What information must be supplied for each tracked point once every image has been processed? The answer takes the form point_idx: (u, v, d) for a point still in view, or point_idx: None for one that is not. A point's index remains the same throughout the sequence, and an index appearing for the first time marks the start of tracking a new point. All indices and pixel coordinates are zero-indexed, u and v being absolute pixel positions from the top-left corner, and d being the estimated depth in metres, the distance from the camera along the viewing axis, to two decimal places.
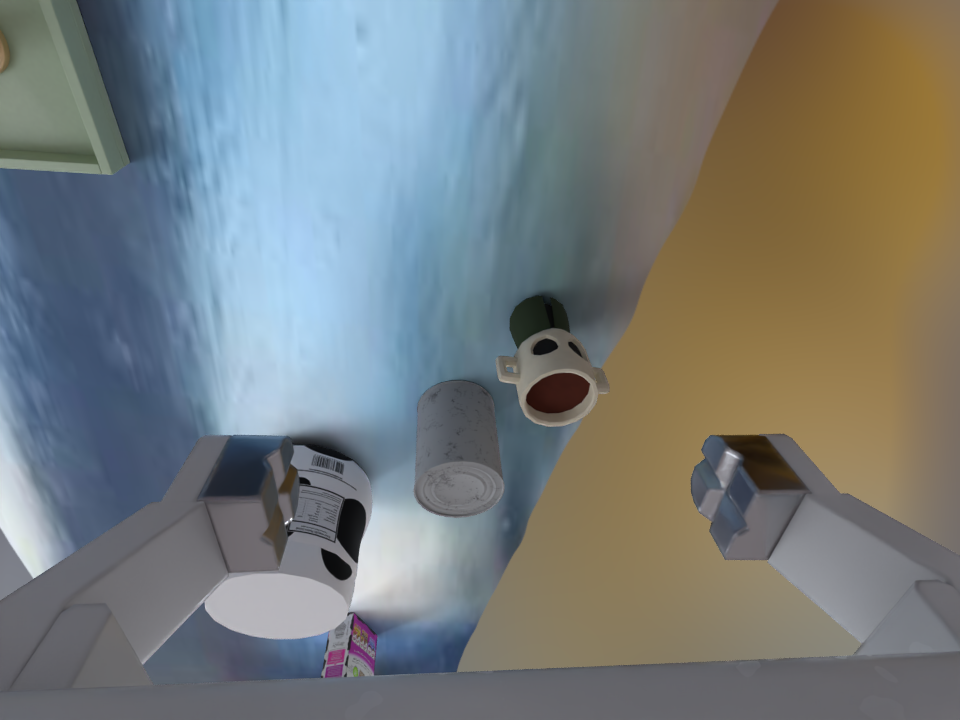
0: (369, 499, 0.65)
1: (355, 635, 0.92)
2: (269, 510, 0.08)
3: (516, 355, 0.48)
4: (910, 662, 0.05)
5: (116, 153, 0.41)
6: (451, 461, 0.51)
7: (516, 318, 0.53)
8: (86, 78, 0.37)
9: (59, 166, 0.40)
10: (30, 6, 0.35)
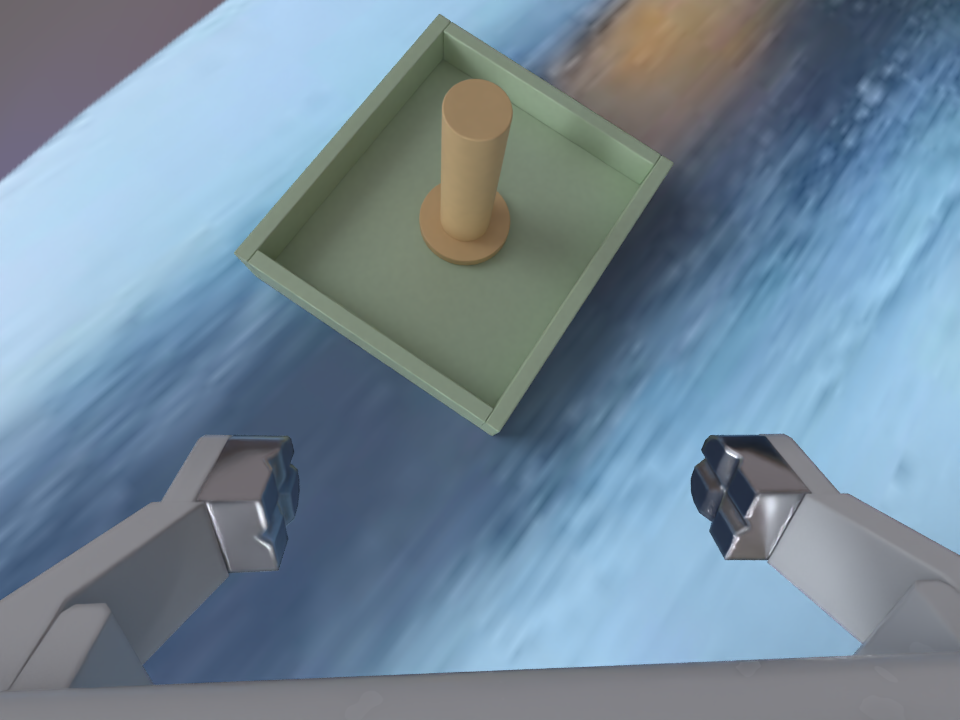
0: None
1: None
2: (269, 510, 0.08)
3: None
4: (910, 662, 0.05)
5: None
6: None
7: None
8: None
9: (436, 379, 0.23)
10: (561, 242, 0.28)
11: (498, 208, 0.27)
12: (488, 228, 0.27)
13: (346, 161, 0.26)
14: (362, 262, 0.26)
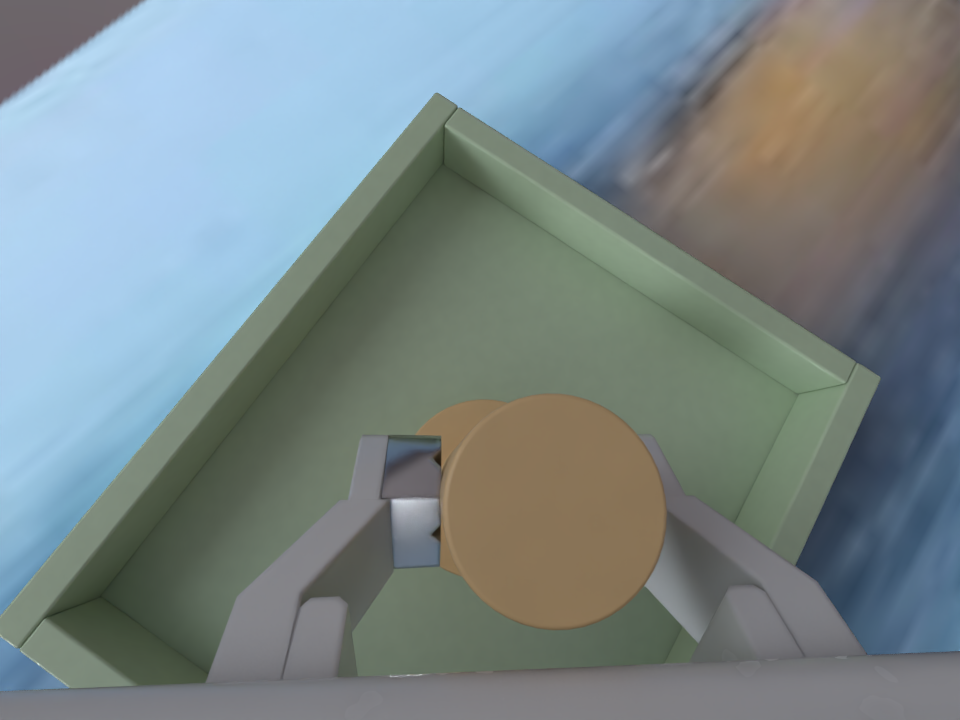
0: None
1: None
2: None
3: None
4: (910, 662, 0.05)
5: None
6: None
7: None
8: None
9: None
10: None
11: None
12: None
13: (256, 380, 0.14)
14: None
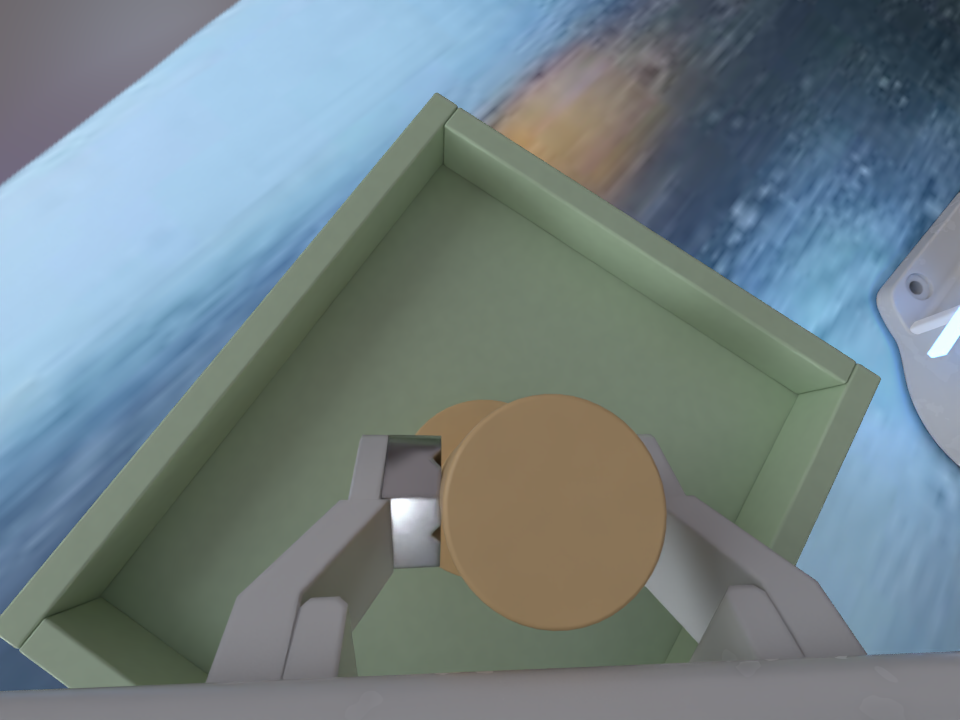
0: None
1: None
2: None
3: None
4: (910, 662, 0.05)
5: None
6: None
7: None
8: None
9: None
10: None
11: None
12: None
13: (255, 381, 0.14)
14: None
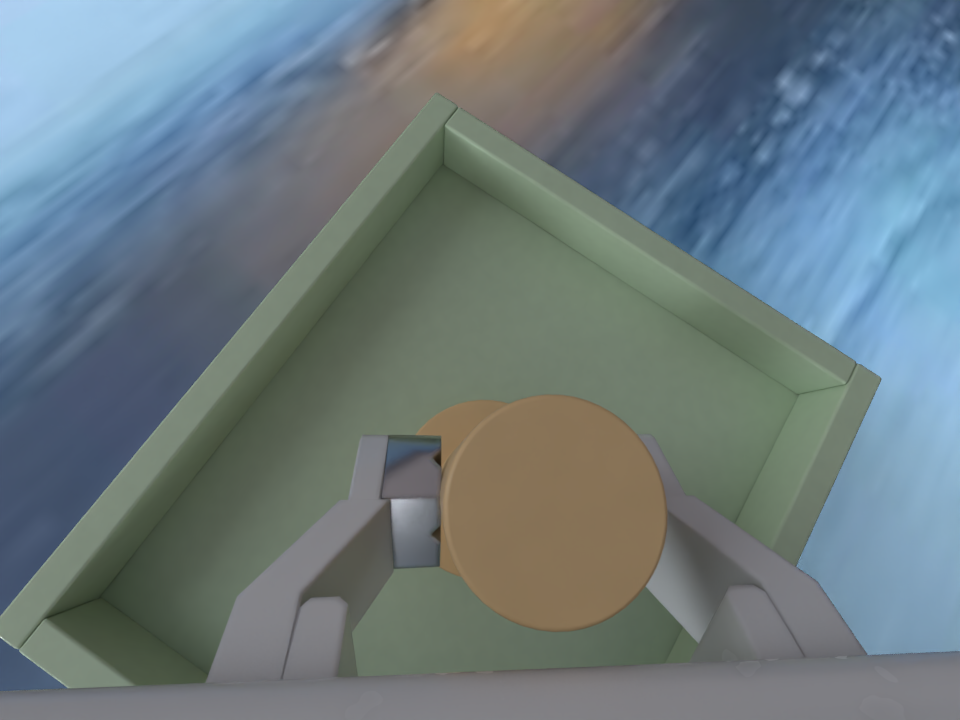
0: None
1: None
2: None
3: None
4: (910, 662, 0.05)
5: None
6: None
7: None
8: None
9: None
10: None
11: None
12: None
13: (256, 381, 0.14)
14: None
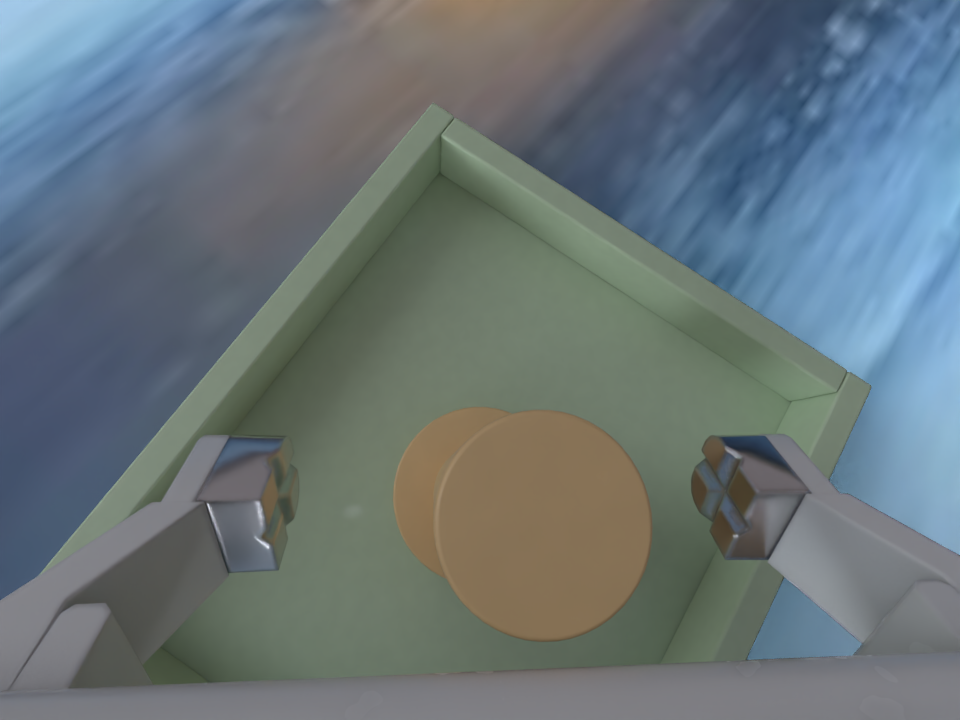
0: None
1: None
2: (269, 510, 0.08)
3: None
4: (910, 662, 0.05)
5: None
6: None
7: None
8: None
9: None
10: (657, 521, 0.15)
11: None
12: None
13: (253, 388, 0.14)
14: (282, 584, 0.14)
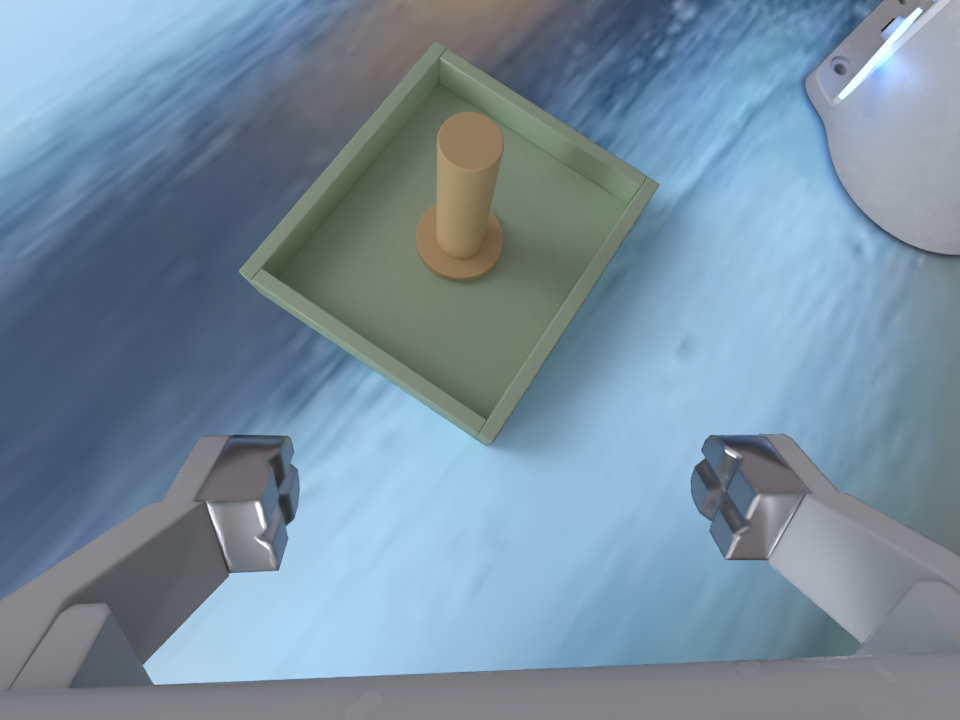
0: None
1: None
2: (269, 510, 0.08)
3: None
4: (910, 662, 0.05)
5: None
6: None
7: None
8: None
9: (432, 392, 0.25)
10: (552, 259, 0.29)
11: (492, 227, 0.28)
12: (482, 246, 0.28)
13: (346, 182, 0.28)
14: (361, 279, 0.28)
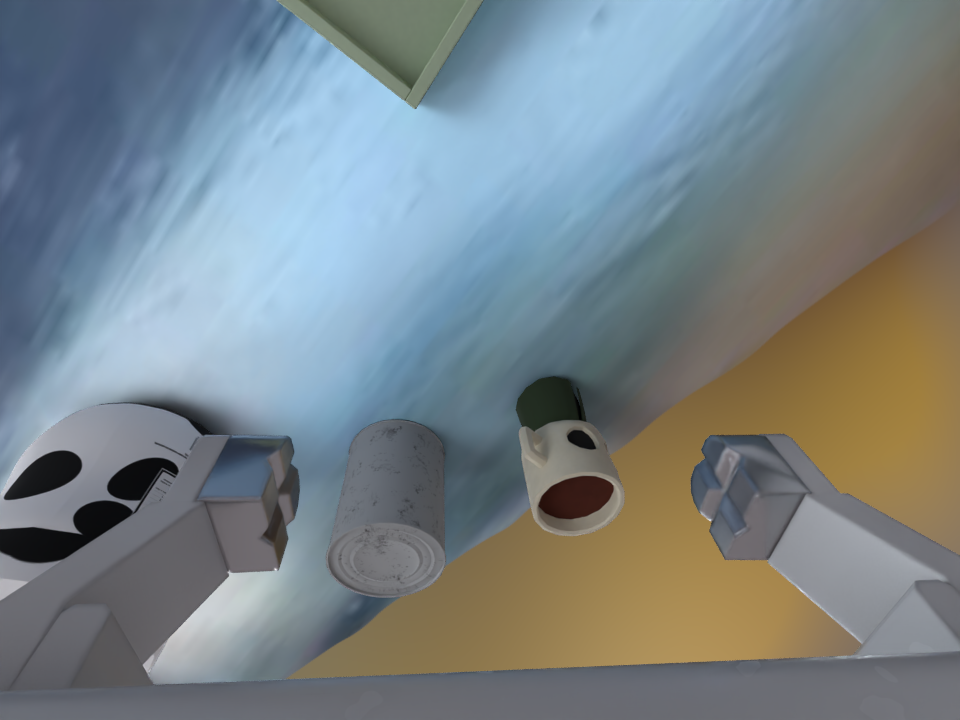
0: None
1: None
2: (269, 510, 0.08)
3: (540, 433, 0.41)
4: (910, 662, 0.05)
5: None
6: (406, 524, 0.39)
7: (539, 392, 0.45)
8: None
9: (366, 61, 0.30)
10: None
11: None
12: None
13: None
14: None
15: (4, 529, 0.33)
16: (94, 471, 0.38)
